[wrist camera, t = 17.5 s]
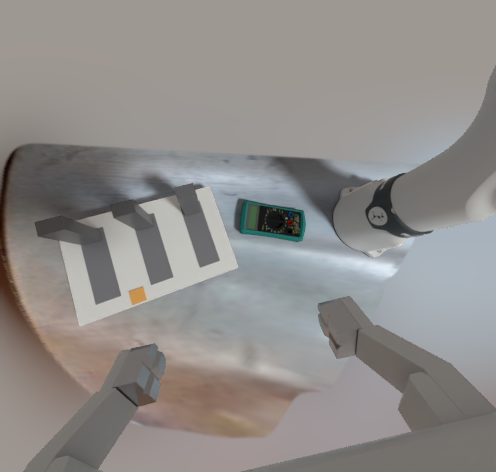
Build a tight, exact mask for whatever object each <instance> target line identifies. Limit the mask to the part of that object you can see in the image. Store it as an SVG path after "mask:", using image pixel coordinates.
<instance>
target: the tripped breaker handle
mask: <svg viewBox="0 0 496 472" xmlns="http://www.w3.org/2000/svg"><path fill="white" fill-rule="evenodd" d="M110 207H111V211H112V215H113V218H114V219H116V220H118V221H120V222H122V223H124V224H126V225H127V226H129V227H131V228H133V229H135V230H137V231H140V230H143V229H147V228H150V227H154V223H153V219H152V216H150V215H149V214H148V213H147V212H146V211H145V210H144V209H142V208H141V207H140V206H139V205H138V204H137V203H136V202H135V201H133V200H128V201H124V202H120V203H116V204H112V205H110Z"/></svg>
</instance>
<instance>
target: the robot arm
mask: <svg viewBox="0 0 496 472" xmlns="http://www.w3.org/2000/svg"><path fill="white" fill-rule="evenodd" d="M494 214H496V66H495V68H494V70H493V72H492V74H491V76H490V78H489V81H488V84H487V89H486V94H485V97H484V100H483V103H482V106H481V108H480V110H479V112H478V114H477V116H476V118H475V119H474V121H473V123H472V124H471V126H470V127H469V128H468V129H467V131H466V132H465V133H464V134H463V135H462V136H461V137H460V138H459V139H458V140H457V141H456V142H455V143H454V144H453V145H452V146H450V147H449V148H448V149H447V150H445V151H444V152H442V153H441V154H439V155H438V156H436V157H435V158H432V159H431V160H429V161H427V162H426V163H424V164H422V165H421V166H419V167H417V168H415V169H413V170H411V171H410V172H408V173H402V174H399V175H397V176H394V177H392V178H390V179H387V178H384V179H381V180H379V181H378V180H375V181H372V182H369V183H367V184H365V185H363V186H359V187H347V188H344V189H342V190H341V193H340V200H339V202H338V203H337V205H336V207H335V210H334V214H333V223H334V227H335V230H336V232H337V234H338V236H339V237H340V239H341V240H342V241H343V242H344V243H345V244H346V245H348V246H349V247H351V248H353V249H356V250H360V251H362V252H364V253H365V254H367V255H368V256H369V257H371V258H375V257H378V256H379V255H380V254H382V253H383V252H384V251H386V250H387V249H388V248H394V247H399V246H401V245H402V243H404V242H405V241H406V240H407V239H408V238H409V237H417V236H422V235H424V234H428V233H431V232H432V231H434V230H437V229H442V228H448V227H453V226H458V225H463V224H468V223H474V222H479V221H482V220H485V219H487V218H489V217H491V216H493V215H494ZM318 310H319V312H320V313H319V315H318V318H319V323H320V326H321V329H322V331H323V333H324V335H325V336H327V337H328V338H329V345H330V347H331V349H332V351H333V352H334V354H335V356H336V358H337V359H339V358H344V357H349V356H353V355H356V357H358V358H359V359H360V360H361V361H363V362H364V363H365V364H366V365H368V366H369V367H370V368H371V369H373V370H374V371H375V372H376V373H378V374H379V375H380V376H382V377H383V378H384V379H385V380H386V381H388V382H389V383H390V384H391V385H393V386H394V387H395V388H396V389H398V390H399V391H400V392H401V393H403V395H402V398H401V400H400V403H399V407H398V410H399V412H400V414H401V415H402V417H403V418H404V420H405V422H406V423H407V425H408V426H409V428H410V429H411V431H412V432H408V433H404V434H400V435H396V436H392V437H387V438H383V439H378V440H374V441H370V442H366V443H362V444H357V445H353V446H348V447H344V448H340V449H336V450H331V451H328V452H323V453H319V454H314V455H311V456H306V457H302V458H297V459H293V460H289V461H284V462H280V463H276V464H272V465H268V466H263V467H259V468H255V469H251V470H246V471H242V472H496V408H495V407H494V406H493V405H492V404H491V403H490V402H489V401H488V400H487V399H486V398H485V397H484V396H483V395H482V394H481V393H480V392H479V391H478V390H477V389H476V388H475V387H474V386H473V385H472V384H471V383H470V382H469V381H468V380H467V379H466V378H465V377H464V376H463V375H462V374H461V373H459V371H457V369H456V368H454V367H453V365H452V364H450V363H448V362H446V361H445V360H443V359H441V358H439V357H437V356H435V355H433V354H431V353H430V352H428V351H426V350H424V349H421V348H420V347H418V346H416V345H414V344H413V343H411V342H409V341H407V340H405V339H403V338H401V337H399V336H397V335H396V334H394V333H392V332H390V331H388V330H386V329H384V328H382V327H381V326H378V325H375V326H374V325H373V324H372V322H371V321H370V320H369V319H368V317H367V316H366V315H365V314H364V312H363V311H362V310H361V309H360V308H359V306H358V305H357V304H356V303H355V301H354V300H353V299H352V298H351V297H350V296H347V297H343V298H339V299H334V300H330V301H326V302H322V303H318ZM157 350H158V346H157V345H156V344H155V343H154V344H150V345H145V346H140V347H136V348H131V349H127V350H123V351H122V352H121V353H120V354H119V355H118V357H117V359H116V361H115V363H114V365H113V367H112V369H111V371H110V372H109V374H108V376H107V378H106V380H105V382H104V384H103V386H102V388H101V390H100V391H99V392H96V393H95V394H94V395H93V396H92V397H91V398H90V400H89V401H88V402H87V403H86V404H85V405H84V406H83V407H82V408H81V409H80V410H79V411H78V412H77V413H76V414H75V415H74V416H73V417H72V418H71V419H70V421H68V423H67V424H66V425H65V426H64V427H63V428H62V429H61V430H60V431H59V432H58V433H57V434H56V435H55V436H54V437H53V438H52V439H51V440H50V441H49V442H48V444H47V445H46V446H45V447H44V448H43V449H42V450H41V451H40V452H39V453H38V454H37V455H36V456H35V457H34V458H33V459H32V460H31V461H30V462H29V464H28V465H27V467H26V468H25V470H24V472H102V471H100V470H98V468H99V467H100V465H101V464H102V462H103V461H104V459H105V458H106V456H107V454H108V453H109V452H110V450H111V448H112V447H113V445H114V444H115V442H116V441H117V439H118V438H119V436H120V435H121V433H122V432H123V430H124V429H125V427H126V425H127V424H128V423H129V421H130V420H131V418H132V416H133V415H134V413H135V412H136V410H137V409H138V407H139V406H143V405H147V404H150V403H154V402H156V401H157V397H158V393H159V390H160V386H161V383H160V381H159V379H160V378H161V377H162V375H163V374H164V371H165V367H166V359H165V356H164V354H163V353H162V352H160V351H157Z"/></svg>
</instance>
